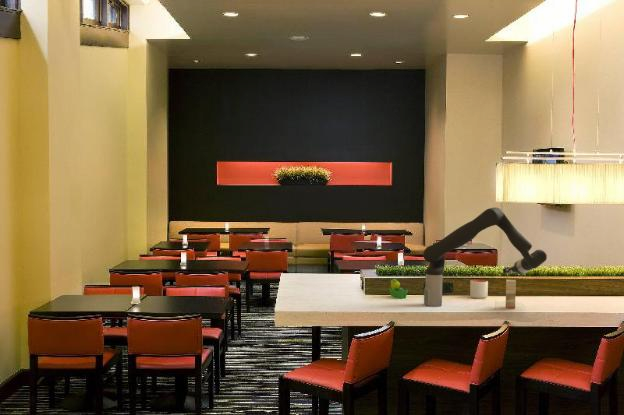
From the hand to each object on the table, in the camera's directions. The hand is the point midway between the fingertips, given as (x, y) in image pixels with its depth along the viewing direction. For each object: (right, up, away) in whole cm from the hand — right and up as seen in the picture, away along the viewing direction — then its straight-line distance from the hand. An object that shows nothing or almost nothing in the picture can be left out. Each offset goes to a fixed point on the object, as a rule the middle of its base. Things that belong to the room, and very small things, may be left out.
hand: (511, 272), depth 447 cm
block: (-1, -19, -1) cm, 19 cm away
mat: (0, -20, +7) cm, 21 cm away
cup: (-11, -18, +35) cm, 41 cm away
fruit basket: (-59, -18, +31) cm, 69 cm away
